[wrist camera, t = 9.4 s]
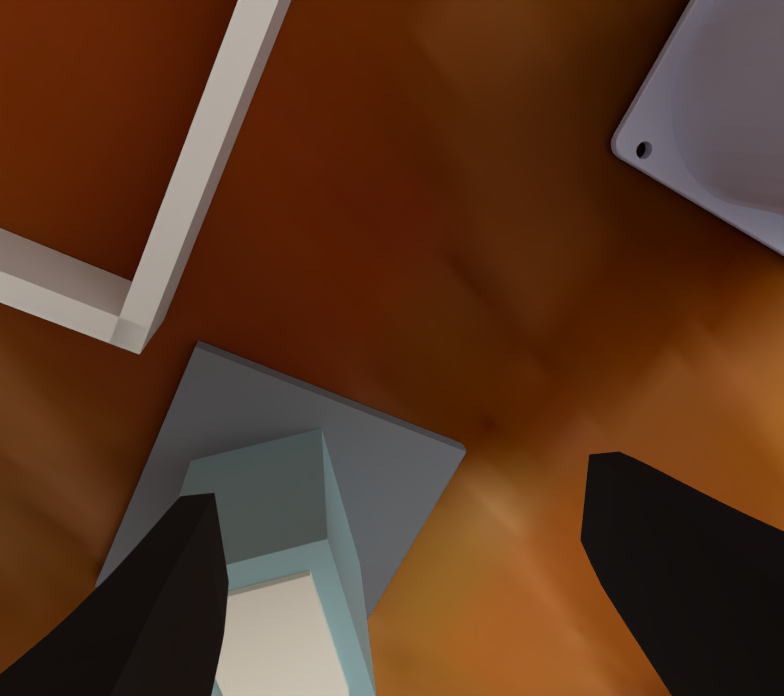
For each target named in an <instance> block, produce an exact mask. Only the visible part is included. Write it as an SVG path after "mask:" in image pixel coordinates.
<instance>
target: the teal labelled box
mask: <svg viewBox="0 0 784 696" xmlns="http://www.w3.org/2000/svg"><path fill="white" fill-rule="evenodd" d="M206 493H215V499H216V505H217V511H218V517H219V523H220V530H221V536H222V542H223V548H224V554H225V561H226V567H227V573H228V579H229V586H228V599H227V611H226V621H225V631H224V638H223V643H222V648H221V653H220V657H219V662H218V667H217V672H216V676H215V681H214V686H213V690H212V695H211V696H376V690H375V682H374V673H373V665H372V657H371V649H370V641H369V633H368V625H367V617H366V609H365V601H364V593H363V585H362V577H361V569H360V563H359V559H358V556H357V552H356V549H355V545H354V541H353V538H352V534H351V531H350V527H349V524H348V520H347V517H346V513H345V510H344V506H343V503H342V499H341V496H340V492H339V488H338V485H337V481H336V478H335V474H334V471H333V467H332V464H331V460H330V457H329V453H328V450H327V446H326V442H325V439H324V435H323V432H322V428H321V429H317V430H313V431H309V432H305V433H301V434H297V435H293V436H289V437H285V438H281V439H277V440H273V441H269V442H265V443H260V444H256V445H252V446H248V447H244V448H240V449H236V450H232V451H228V452H224V453H220V454H216V455H212V456H208V457H204V458H200V459H196V460H192V461H191V462H190V465H189V468H188V471H187V474H186V477H185V480H184V483H183V486H182V489H181V492H180V495H179V497H180V496H186V495H196V494H206Z"/></svg>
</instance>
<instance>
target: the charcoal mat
mask: <svg viewBox="0 0 784 696" xmlns="http://www.w3.org/2000/svg"><path fill="white" fill-rule="evenodd" d="M321 428H322V432H323V435H324V439H325V442H326V446H327V450H328V453H329V457H330V460H331V464H332V467H333V471H334V474H335V478H336V481H337V485H338V488H339V492H340V496H341V499H342V503H343V506H344V510H345V513H346V517H347V520H348V524H349V527H350V531H351V534H352V538H353V541H354V545H355V549H356V552H357V556H358V559H359V563H360V569H361V577H362V585H363V593H364V601H365V609H366V617H367V620H368V618H369V616H370V615H371V613H372V611H373V610H374V608H375V606H376V605H377V603H378V601H379V599H380V598H381V596H382V594H383V593H384V591H385V589H386V588H387V586H388V584H389V582H390V581H391V579H392V577H393V576H394V574H395V572H396V571H397V569H398V567H399V565H400V564H401V562H402V560H403V559H404V557H405V555H406V554H407V552H408V550H409V549H410V547H411V545H412V543H413V542H414V540H415V538H416V537H417V535H418V533H419V532H420V530H421V528H422V526H423V525H424V523H425V521H426V520H427V518H428V516H429V515H430V513H431V511H432V510H433V508H434V506H435V504H436V503H437V501H438V499H439V498H440V496H441V494H442V493H443V491H444V489H445V487H446V486H447V484H448V482H449V481H450V479H451V477H452V476H453V474H454V472H455V470H456V469H457V467H458V465H459V464H460V462H461V460H462V459H463V457H464V455H465V454H466V450H465V448H464V446H463V444H462V443H460V442H457V441H455V440H452V439H450V438H447V437H445V436H442V435H439V434H437V433H434V432H432V431H429V430H427V429H424V428H422V427H419V426H416V425H414V424H411V423H409V422H406V421H404V420H401V419H399V418H396V417H393V416H391V415H388V414H386V413H383V412H381V411H378V410H376V409H373V408H370V407H368V406H365V405H363V404H360V403H358V402H355V401H353V400H350V399H347V398H345V397H342V396H340V395H337V394H335V393H332V392H330V391H327V390H325V389H322V388H319V387H317V386H314V385H312V384H309V383H307V382H304V381H302V380H299V379H296V378H294V377H291V376H289V375H286V374H284V373H281V372H279V371H276V370H273V369H271V368H268V367H266V366H263V365H261V364H258V363H256V362H253V361H250V360H248V359H245V358H243V357H240V356H238V355H235V354H233V353H230V352H227V351H225V350H222V349H220V348H217V347H215V346H212V345H210V344H207V343H204V342H202V341H199V340H198V342H197V344H196V346H195V349H194V351H193V353H192V356H191V358H190V361H189V363H188V365H187V368H186V370H185V372H184V375H183V377H182V380H181V382H180V384H179V387H178V389H177V392H176V394H175V396H174V399H173V401H172V403H171V406H170V408H169V411H168V413H167V415H166V418H165V420H164V423H163V425H162V427H161V430H160V432H159V434H158V437H157V439H156V442H155V444H154V446H153V449H152V451H151V454H150V456H149V458H148V461H147V463H146V465H145V468H144V470H143V473H142V475H141V477H140V480H139V482H138V484H137V487H136V489H135V492H134V494H133V496H132V499H131V501H130V504H129V506H128V508H127V511H126V513H125V515H124V518H123V520H122V523H121V525H120V527H119V530H118V532H117V535H116V537H115V539H114V542H113V544H112V546H111V549H110V551H109V554H108V556H107V558H106V561H105V563H104V566H103V568H102V570H101V573H100V575H99V577H98V580H97V582H96V585H95V587H98V586H99V585H100V584H101V583H102V582H103V581H104V580H105V579H106V578H107V577H108V576H109V575H110V574H111V573H112V572H113V571H114V570H115V569H116V568H117V567H118V565H119V564H120V563H121V562H122V561H123V560H124V559H125V558H126V557H127V556H128V555H129V553H130V552H131V551H132V550H133V549H134V548H135V547H136V546H137V545H138V544H139V542H140V541H141V540H142V539H143V538H144V537H145V536H146V534H147V533H148V532H149V531H150V530H151V529H152V528H153V526H154V525H155V524H156V523H157V522H158V521H159V519H160V518H161V517H162V516H163V515H164V514H165V513H166V511H167V510H168V509H169V508H170V507H171V506H172V505H173V504H174V503H175V501H176V500H177V499H178V498H179V495H180V492H181V489H182V486H183V483H184V480H185V477H186V474H187V471H188V468H189V465H190V462H191V461H192V460H196V459H200V458H204V457H208V456H212V455H216V454H220V453H224V452H228V451H232V450H236V449H240V448H244V447H248V446H252V445H256V444H260V443H265V442H269V441H273V440H277V439H281V438H285V437H289V436H293V435H297V434H301V433H305V432H309V431H313V430H317V429H321Z"/></svg>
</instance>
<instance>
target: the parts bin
mask: <svg viewBox="0 0 784 696" xmlns="http://www.w3.org/2000/svg"><path fill="white" fill-rule="evenodd" d="M290 2H291V0H238V2H237V5H236V7H235V10H234V13H233V15H232V18H231V21H230V23H229V26H228V29H227V31H226V34H225V37H224V39H223V42H222V45H221V47H220V50H219V53H218V55H217V58H216V61H215V63H214V66H213V69H212V71H211V74H210V77H209V79H208V82H207V85H206V87H205V90H204V93H203V95H202V98H201V101H200V103H199V106H198V109H197V111H196V114H195V117H194V119H193V122H192V125H191V127H190V130H189V133H188V135H187V138H186V141H185V143H184V146H183V149H182V151H181V154H180V157H179V159H178V162H177V165H176V167H175V170H174V173H173V175H172V178H171V181H170V183H169V186H168V189H167V191H166V194H165V197H164V199H163V202H162V204H161V207H160V210H159V212H158V215H157V218H156V220H155V223H154V226H153V228H152V231H151V234H150V236H149V239H148V242H147V244H146V247H145V250H144V252H143V255H142V258H141V260H140V263H139V266H138V268H137V271H136V274H135V276H134V279H133V282H132V281H129V280H127V279H124V278H122V277H120V276H117V275H115V274H112V273H110V272H107V271H105V270H102V269H100V268H97V267H95V266H92V265H90V264H88V263H85V262H83V261H80V260H78V259H75V258H73V257H70V256H68V255H65V254H63V253H60V252H58V251H56V250H53V249H51V248H48V247H46V246H43V245H41V244H38V243H36V242H33V241H31V240H28V239H26V238H24V237H21V236H19V235H16V234H14V233H11V232H9V231H6V230H4V229H1V228H0V303H3V304H6V305H8V306H11V307H14V308H16V309H19V310H22V311H24V312H27V313H30V314H32V315H35V316H38V317H40V318H43V319H46V320H48V321H51V322H54V323H56V324H59V325H62V326H64V327H67V328H70V329H72V330H75V331H78V332H80V333H83V334H86V335H88V336H91V337H94V338H96V339H99V340H102V341H104V342H107V343H110V344H113V345H115V346H118V347H121V348H123V349H126V350H129V351H131V352H134V353H137V354H139V355H140V353H141V352H142V350H143V349H144V348H145V346H146V345H147V343H148V342H149V341H150V339H151V338H152V336H153V335H154V333H155V332H156V331H157V329H158V328H159V326H160V325H161V324H162V322H163V321H164V319H165V316H166V314H167V311H168V309H169V306H170V304H171V301H172V299H173V296H174V294H175V291H176V289H177V286H178V284H179V281H180V279H181V276H182V274H183V271H184V269H185V266H186V264H187V261H188V258H189V256H190V253H191V251H192V248H193V246H194V243H195V241H196V238H197V236H198V233H199V231H200V228H201V226H202V223H203V221H204V218H205V216H206V213H207V211H208V208H209V206H210V203H211V201H212V198H213V196H214V193H215V191H216V188H217V186H218V183H219V181H220V178H221V176H222V173H223V171H224V168H225V166H226V163H227V161H228V158H229V156H230V153H231V150H232V148H233V145H234V143H235V140H236V138H237V135H238V133H239V130H240V128H241V125H242V123H243V120H244V118H245V115H246V113H247V110H248V108H249V105H250V103H251V100H252V98H253V95H254V93H255V90H256V88H257V85H258V83H259V80H260V78H261V75H262V73H263V70H264V68H265V65H266V63H267V60H268V58H269V55H270V53H271V50H272V48H273V45H274V42H275V40H276V37H277V35H278V32H279V30H280V27H281V25H282V22H283V20H284V17H285V15H286V12H287V10H288V7H289V5H290Z"/></svg>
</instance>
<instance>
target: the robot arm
mask: <svg viewBox="0 0 784 696" xmlns="http://www.w3.org/2000/svg"><path fill="white" fill-rule="evenodd" d="M641 142H643V143H644V144H645V148H646V150H645V153H644V154H643V155H642V157H640V158H639V157H638V156H637V154H636V149H637V146H638V145H639V144H640V143H641ZM611 149H612V151H613V154H614V155H616V156H617V157H618V158H619V159H621V160H623V161H624V162H626V163H628V164H629V165H631V166H633V167H635V168H636V169H638V170H640V171H641V172H643V173H645V174H646V175H648V176H650V177H651V178H653V179H655V180H656V181H658V182H660V183H661V184H663V185H665V186H666V187H668V188H670V189H672V190H673V191H675V192H677V193H678V194H680V195H682V196H683V197H685V198H687V199H688V200H690V201H692V202H693V203H695V204H697V205H698V206H700V207H702V208H703V209H705V210H707V211H708V212H710V213H712V214H714V215H715V216H717V217H719V218H720V219H722V220H724V221H725V222H727V223H729V224H730V225H732V226H734V227H735V228H737V229H739V230H740V231H742V232H744V233H745V234H747V235H749V236H751V237H752V238H754V239H756V240H757V241H759V242H761V243H762V244H764V245H766V246H767V247H769V248H771V249H772V250H774V251H776V252H777V253H779V254H781V255H782V256H784V0H690V2H689V3H688V5H687V7H686V9H685V10H684V12H683V14H682V16H681V17H680V19H679V21H678V23H677V24H676V26H675V28H674V30H673V31H672V33H671V35H670V37H669V38H668V40H667V42H666V44H665V45H664V47H663V49H662V51H661V52H660V54H659V56H658V58H657V59H656V61H655V63H654V65H653V66H652V68H651V70H650V72H649V73H648V75H647V77H646V79H645V80H644V82H643V84H642V86H641V87H640V89H639V91H638V93H637V94H636V96H635V98H634V100H633V101H632V103H631V105H630V107H629V108H628V110H627V112H626V114H625V115H624V117H623V119H622V121H621V122H620V124H619V126H618V128H617V129H616V131H615V133H614V135H613V137H612V140H611ZM581 542H582V545H583V547H584V549H585V551H586V553H587V556H588V558H589V560H590V562H591V565H592V567H593V569H594V571H595V573H596V575H597V577H598V579H599V581H600V583H601V585H602V587H603V589H604V590H605V592H606V594H607V595H608V597H609V598H610V600H611V602H612V603H613V605H614V606H615V608H616V609H617V611H618V613H619V614H620V616H621V617H622V619H623V621H624V622H625V624H626V625H627V627H628V628H629V630H630V631H631V633H632V635H633V636H634V638H635V639H636V641H637V642H638V644H639V645H640V647H641V648H642V650H643V652H644V653H645V655H646V656H647V658H648V659H649V661H650V662H651V664H652V666H653V667H654V669H655V670H656V672H657V673H658V675H659V676H660V678H661V679H662V681H663V683H664V684H665V686H666V687H667V689H668V690H669V692H670V694H671V695H672V696H784V531H781V530H779V529H777V528H775V527H773V526H770V525H768V524H766V523H764V522H762V521H759V520H757V519H755V518H753V517H751V516H748V515H746V514H744V513H742V512H740V511H738V510H736V509H734V508H732V507H730V506H728V505H726V504H724V503H722V502H720V501H718V500H716V499H713V498H712V497H710V496H708V495H706V494H704V493H702V492H700V491H698V490H696V489H694V488H692V487H690V486H688V485H686V484H684V483H682V482H680V481H678V480H676V479H674V478H673V477H671V476H669V475H667V474H665V473H663V472H661V471H659V470H657V469H655V468H653V467H651V466H649V465H647V464H645V463H643V462H641V461H639V460H637V459H635V458H632V457H630V456H628V455H626V454H623V453H621V452H611V453H601V454H591V455H589V463H588V472H587V482H586V492H585V501H584V511H583V521H582V530H581ZM228 586H229V579H228V573H227V567H226V561H225V554H224V548H223V542H222V536H221V530H220V523H219V517H218V511H217V505H216V499H215V493H206V494H196V495H186V496H180V497H179V498H178V499H177V500H176V501H175V503H174V504H173V505H172V506H171V507H170V508H169V509H168V510H167V511H166V513H165V514H164V515H163V516H162V517H161V518H160V519H159V521H158V522H157V523H156V524H155V525H154V526H153V528H152V529H151V530H150V531H149V532H148V533H147V534H146V536H145V537H144V538H143V539H142V540H141V541H140V542H139V544H138V545H137V546H136V547H135V548H134V549H133V550H132V551H131V552H130V553H129V555H128V556H127V557H126V558H125V559H124V560H123V561H122V562H121V563H120V564H119V565H118V567H117V568H116V569H115V570H114V571H113V572H112V573H111V574H110V575H109V576H108V577H107V578H106V579H105V580H104V581H103V582H102V583H101V584H100V585H99V586H98V587H97V588H96V589H95V590H94V591H93V592H92V593H91V594H90V595H89V596H88V597H87V598H86V599H85V600H84V601H83V602H82V603H81V604H80V605H79V606H78V607H77V608H76V609H75V610H74V611H73V612H72V613H71V614H70V615H69V616H68V617H67V618H66V619H65V620H64V621H62V622H61V623H60V624H59V625H58V626H57V627H56V628H55V629H54V630H52V631H51V632H50V633H49V634H48V635H47V636H46V637H44V638H43V639H42V640H41V641H40V642H39V643H37V644H36V645H35V646H34V647H33V648H31V649H30V650H29V651H28V652H27V653H26V654H24V655H23V656H22V657H21V658H20V659H18V660H17V661H16V662H15V663H14V664H12V665H11V666H10V667H9V668H7V669H6V670H5V671H4V672H2V673H1V674H0V696H211V695H212V690H213V686H214V681H215V676H216V672H217V667H218V662H219V657H220V653H221V648H222V643H223V638H224V631H225V621H226V611H227V599H228Z"/></svg>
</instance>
